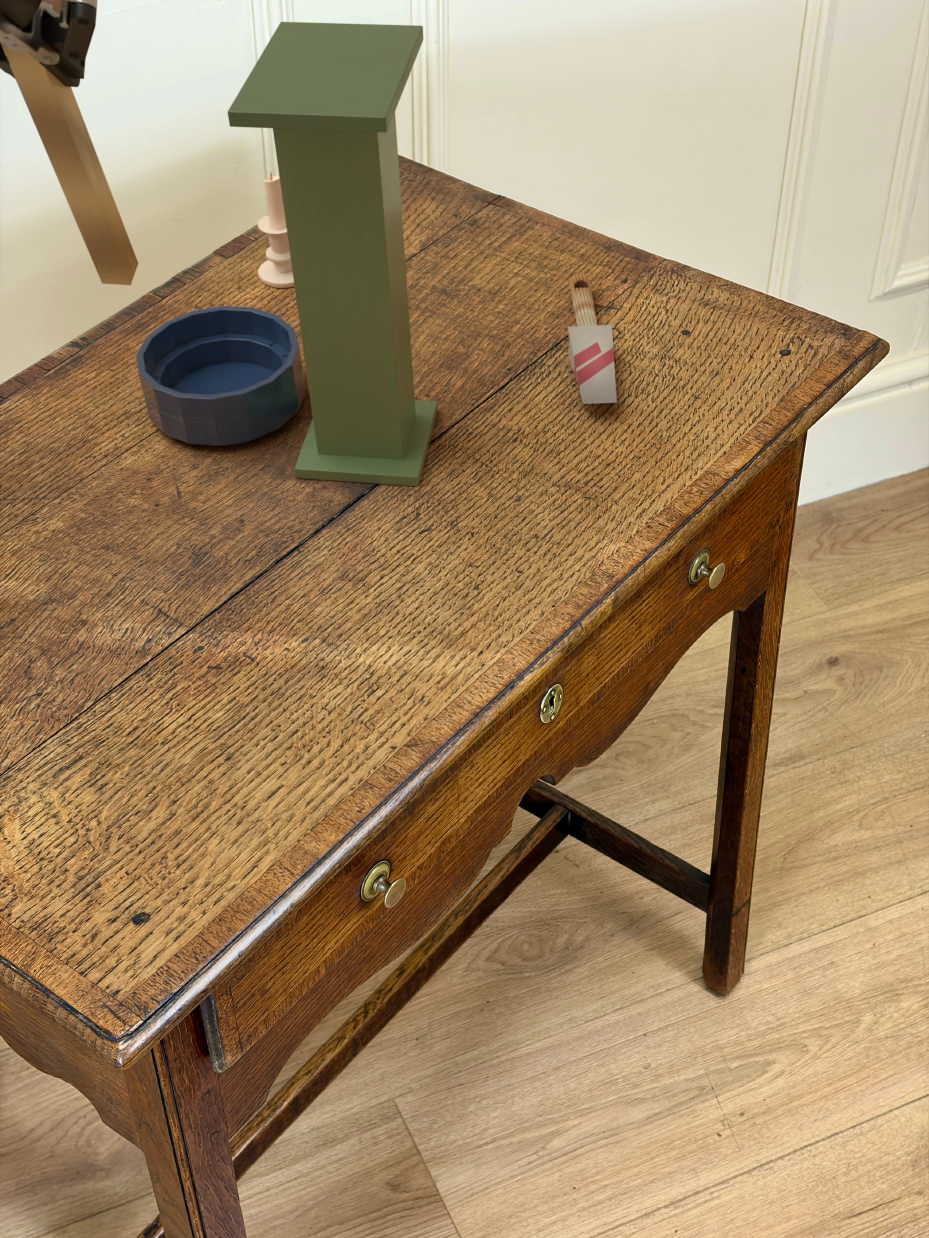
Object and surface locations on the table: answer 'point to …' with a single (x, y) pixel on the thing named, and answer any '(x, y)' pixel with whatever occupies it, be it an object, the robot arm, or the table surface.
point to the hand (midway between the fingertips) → (52, 68)
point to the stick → (76, 167)
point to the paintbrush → (590, 347)
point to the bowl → (221, 375)
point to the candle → (275, 239)
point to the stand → (346, 240)
